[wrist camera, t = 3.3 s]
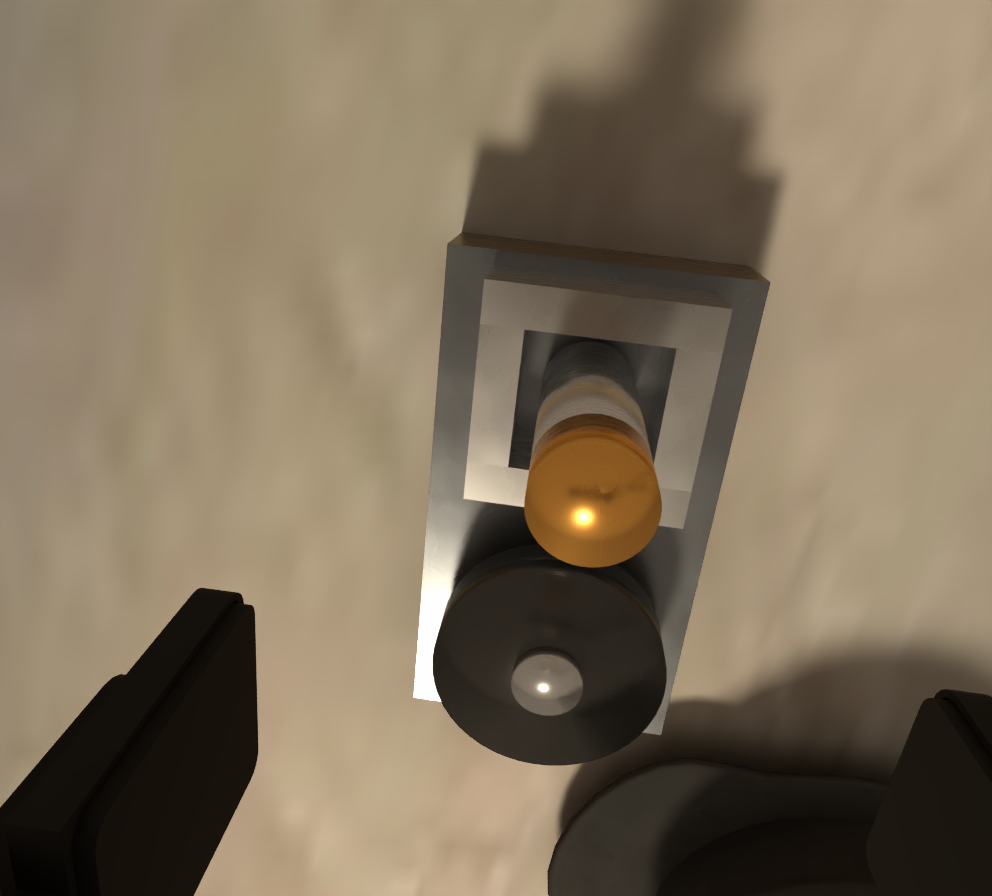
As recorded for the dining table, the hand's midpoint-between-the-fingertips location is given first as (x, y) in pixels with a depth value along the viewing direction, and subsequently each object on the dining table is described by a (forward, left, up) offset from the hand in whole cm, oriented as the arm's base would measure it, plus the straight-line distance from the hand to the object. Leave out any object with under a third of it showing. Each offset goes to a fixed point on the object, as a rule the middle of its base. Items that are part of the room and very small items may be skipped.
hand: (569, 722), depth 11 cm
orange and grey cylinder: (0, 0, -16) cm, 16 cm away
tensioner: (+5, 0, -19) cm, 19 cm away
